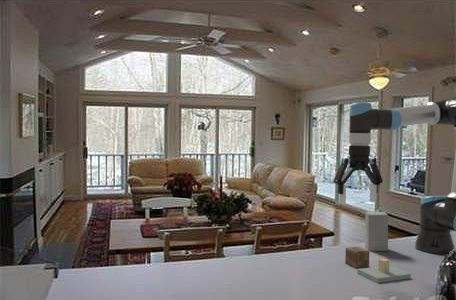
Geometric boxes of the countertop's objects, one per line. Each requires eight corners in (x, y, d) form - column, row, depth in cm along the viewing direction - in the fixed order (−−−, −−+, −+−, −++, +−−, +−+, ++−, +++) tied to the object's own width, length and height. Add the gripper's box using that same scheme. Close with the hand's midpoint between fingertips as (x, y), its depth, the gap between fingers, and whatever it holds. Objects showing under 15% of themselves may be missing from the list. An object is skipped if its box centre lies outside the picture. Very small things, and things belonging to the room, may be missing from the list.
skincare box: (384, 247, 181) (384, 211, 181) (388, 252, 174) (389, 214, 174) (363, 246, 182) (364, 210, 182) (367, 251, 175) (368, 213, 175)
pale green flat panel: (389, 269, 151) (390, 254, 151) (410, 278, 142) (411, 262, 141) (357, 273, 146) (357, 257, 146) (377, 282, 137) (377, 266, 137)
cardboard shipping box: (358, 262, 160) (358, 246, 159) (369, 266, 154) (369, 250, 154) (345, 263, 157) (345, 247, 157) (355, 268, 152) (355, 251, 152)
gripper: (379, 145, 162) (378, 199, 163) (324, 144, 153) (323, 202, 154) (393, 145, 155) (392, 202, 156) (336, 144, 146) (335, 205, 147)
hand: (357, 202), depth 155 cm, fingers open, 13 cm apart
